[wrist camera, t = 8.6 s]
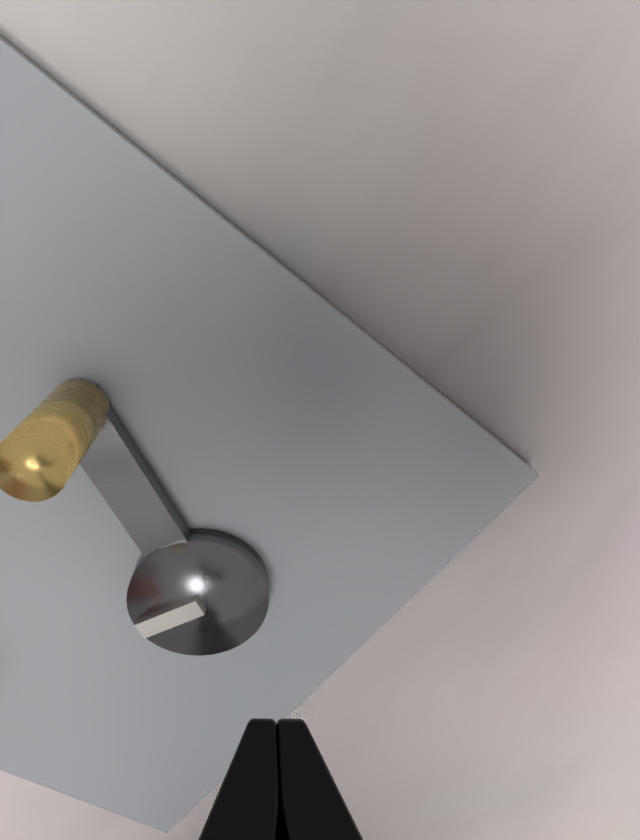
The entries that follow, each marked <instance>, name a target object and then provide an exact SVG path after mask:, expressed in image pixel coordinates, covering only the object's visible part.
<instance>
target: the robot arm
mask: <svg viewBox="0 0 640 840" xmlns="http://www.w3.org/2000/svg"><path fill="white" fill-rule="evenodd" d="M199 840H363V838H362V836H361V834H360V832H359V830H358V828H357V826H356V824H355V822H354V820H353V818H352V816H351V814H350V812H349V810H348V808H347V806H346V804H345V802H344V800H343V798H342V796H341V794H340V792H339V790H338V788H337V786H336V784H335V782H334V780H333V777H332V775H331V773H330V771H329V769H328V767H327V765H326V763H325V761H324V759H323V757H322V755H321V753H320V751H319V749H318V747H317V745H316V743H315V741H314V739H313V737H312V735H311V733H310V731H309V729H308V727H307V725H306V723H305V722H304V721H303V720H302V719H279V720H278V721H277V723H276V721H275V720H274V719H269V718H253V719H251V720H249V722H248V723H247V726H246V728H245V730H244V733H243V735H242V737H241V740H240V742H239V745H238V747H237V749H236V752H235V754H234V757H233V759H232V761H231V764H230V766H229V768H228V771H227V773H226V776H225V778H224V780H223V783H222V785H221V788H220V790H219V792H218V795H217V797H216V799H215V802H214V804H213V807H212V809H211V811H210V814H209V816H208V819H207V821H206V823H205V826H204V828H203V830H202V833H201V835H200V838H199Z"/></svg>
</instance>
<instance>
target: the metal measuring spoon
mask: <svg viewBox="0 0 640 840" xmlns="http://www.w3.org/2000/svg"><path fill="white" fill-rule="evenodd" d="M79 463H80V465H81V466H82V468H83V469H84V471H85V472H86V473H87V475H88V476H89V478H90V479H91V481H92V482H93V484H94V485H95V486H96V488H97V489H98V491H99V492H100V494H101V495H102V497H103V498H104V499H105V501H106V502H107V504H108V505H109V507H110V508H111V510H112V511H113V512H114V514H115V515H116V517H117V518H118V520H119V521H120V523H121V524H122V525H123V527H124V528H125V530H126V531H127V533H128V534H129V535H130V537H131V538H132V540H133V541H134V543H135V544H136V546H137V547H138V548H139V550H140V551H141V553H142V555H141V556H140V558H139V559H138V561H137V564H136V566H135V568H134V571H133V574H132V577H131V580H130V583H129V586H128V590H127V597H126V603H127V610H128V613H129V616H130V618H131V621H132V622H133V624H134V626H135V627H136V628H137V630H138V631H139V632H140V634H141V635H142V636H143V638H144V639H145V638H147V639H148V640H149V641H151V642H152V643H154V644H155V645H157V646H159V647H161V648H163V649H166V650H168V651H171V652H175V653H179V654H184V655H194V656H202V655H213V654H217V653H222V652H225V651H228V650H231V649H233V648H235V647H237V646H239V645H241V644H242V643H244V642H246V641H247V640H248V639H249V638H251V637H252V636H253V635H254V634H255V633H256V632H257V630H258V629H259V628H260V627H261V625H262V623H263V621H264V620H265V617H266V614H267V611H268V604H269V579H268V573H267V569H266V566H265V564H264V562H263V560H262V559H261V557H260V556H259V554H258V553H257V552H256V551H255V550H254V549H253V548H252V547H251V546H250V545H249V544H247V543H246V542H245V541H243V540H242V539H240V538H238V537H236V536H234V535H232V534H229V533H226V532H223V531H219V530H215V529H206V528H193V529H189V528H188V526H187V524H186V523H185V521H184V520H183V518H182V516H181V515H180V513H179V512H178V510H177V509H176V507H175V505H174V504H173V502H172V501H171V499H170V498H169V496H168V494H167V493H166V491H165V490H164V488H163V486H162V485H161V483H160V482H159V480H158V479H157V477H156V475H155V474H154V472H153V471H152V469H151V467H150V466H149V464H148V463H147V461H146V460H145V458H144V456H143V455H142V453H141V452H140V450H139V449H138V447H137V445H136V444H135V442H134V441H133V439H132V437H131V436H130V434H129V433H128V431H127V430H126V428H125V426H124V425H123V423H122V422H121V420H120V418H119V417H118V415H117V414H116V412H115V411H114V409H113V407H112V406H111V404H110V403H109V401H108V399H107V397H106V396H105V394H104V393H103V392H102V390H101V388H100V387H99V385H98V384H97V385H93V384H91V383H89V382H86V381H82V380H70V381H66V382H64V383H62V384H60V385H59V386H57V387H56V388H55V389H54V390H53V391H52V392H51V393H50V394H49V395H48V396H47V397H46V398H45V399H44V400H43V401H42V402H41V403H40V404H39V405H38V406H37V407H36V408H35V409H34V410H33V411H32V412H31V413H30V414H29V415H28V416H27V417H26V418H25V419H24V420H23V421H22V422H21V423H20V424H19V425H18V426H17V427H16V428H15V429H14V430H13V431H12V432H11V433H10V434H9V435H8V436H7V437H6V438H5V439H4V440H3V441H2V442H1V443H0V488H1V489H2V490H3V491H4V492H5V493H7V494H8V495H10V496H12V497H14V498H16V499H19V500H23V501H29V502H39V501H45V500H48V499H50V498H52V497H54V496H56V495H57V494H58V493H59V492H60V491H61V490H62V489H63V487H64V486H65V484H66V483H67V481H68V480H69V478H70V477H71V475H72V474H73V472H74V471H75V469H76V468H77V466H78V465H79Z"/></svg>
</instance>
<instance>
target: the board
mask: <svg viewBox="0 0 640 840" xmlns="http://www.w3.org/2000/svg"><path fill="white" fill-rule="evenodd" d="M70 380H82V381H86V382H89V383H91V384H93V385H97V384H98V385H99V387H100V388H101V390H102V392H103V393H104V394H105V396H106V397H107V399H108V401H109V403H110V404H111V406H112V407H113V409H114V411H115V412H116V414H117V415H118V417H119V418H120V420H121V422H122V423H123V425H124V426H125V428H126V430H127V431H128V433H129V434H130V436H131V437H132V439H133V441H134V442H135V444H136V445H137V447H138V449H139V450H140V452H141V453H142V455H143V456H144V458H145V460H146V461H147V463H148V464H149V466H150V467H151V469H152V471H153V472H154V474H155V475H156V477H157V479H158V480H159V482H160V483H161V485H162V486H163V488H164V490H165V491H166V493H167V494H168V496H169V498H170V499H171V501H172V502H173V504H174V505H175V507H176V509H177V510H178V512H179V513H180V515H181V516H182V518H183V520H184V521H185V523H186V524H187V526H188V528H189V529H193V528H206V529H215V530H219V531H223V532H226V533H229V534H232V535H234V536H236V537H238V538H240V539H242V540H243V541H245V542H246V543H247V544H249V545H250V546H251V547H252V548H253V549H254V550H255V551H256V552H257V553H258V554H259V556H260V557H261V559H262V560H263V562H264V564H265V566H266V569H267V573H268V579H269V604H268V611H267V614H266V617H265V620H264V621H263V623H262V625H261V627H260V628H259V629H258V630H257V632H256V633H255V634H254V635H253V636H252V637H251V638H249V639H248V640H247V641H246V642H244V643H242V644H241V645H239V646H237V647H235V648H233V649H231V650H228V651H225V652H222V653H217V654H213V655H202V656H194V655H184V654H179V653H175V652H171V651H168V650H166V649H163V648H161V647H159V646H157V645H155V644H154V643H152V642H151V641H149V640H148V639H147V638H145V639H144V638H143V636H142V635H141V634H140V632H139V631H138V630H137V628H136V627H135V626H134V624H133V622H132V621H131V618H130V616H129V613H128V610H127V603H126V597H127V590H128V586H129V583H130V580H131V577H132V574H133V571H134V568H135V566H136V564H137V561H138V559H139V558H140V556H141V555H142V553H141V551H140V550H139V548H138V547H137V546H136V544H135V543H134V541H133V540H132V538H131V537H130V535H129V534H128V533H127V531H126V530H125V528H124V527H123V525H122V524H121V523H120V521H119V520H118V518H117V517H116V515H115V514H114V512H113V511H112V510H111V508H110V507H109V505H108V504H107V502H106V501H105V499H104V498H103V497H102V495H101V494H100V492H99V491H98V489H97V488H96V486H95V485H94V484H93V482H92V481H91V479H90V478H89V476H88V475H87V473H86V472H85V471H84V469H83V468H82V466H81V465H80V463H79V465H78V466H77V468H76V469H75V471H74V472H73V474H72V475H71V477H70V478H69V480H68V481H67V483H66V484H65V486H64V487H63V489H62V490H61V491H60V492H59V493H58V494H57V495H56V496H54V497H52V498H50V499H48V500H45V501H39V502H29V501H23V500H19V499H16V498H14V497H12V496H10V495H8V494H7V493H5V492H4V491H3V490H2V489H1V488H0V770H2V771H5V772H8V773H10V774H13V775H16V776H18V777H21V778H23V779H26V780H29V781H31V782H34V783H37V784H39V785H42V786H45V787H47V788H50V789H53V790H55V791H58V792H61V793H63V794H66V795H69V796H71V797H74V798H76V799H79V800H82V801H84V802H87V803H90V804H92V805H95V806H98V807H100V808H103V809H106V810H108V811H111V812H114V813H116V814H119V815H121V816H124V817H127V818H129V819H132V820H135V821H137V822H140V823H143V824H145V825H148V826H151V827H153V828H156V829H159V830H161V831H164V832H166V833H167V832H168V831H169V830H170V829H171V828H172V827H173V826H174V825H175V824H176V823H177V822H179V821H180V820H181V819H182V818H183V817H184V816H185V815H186V814H187V813H188V812H189V811H190V810H191V809H192V808H193V807H194V806H195V805H196V804H197V803H198V802H199V801H200V800H201V799H202V798H203V797H204V796H206V795H207V794H208V793H209V792H210V791H211V790H212V789H213V788H214V787H215V786H216V785H217V784H218V783H219V782H220V781H221V780H222V779H223V778H224V777H225V776H226V773H227V771H228V768H229V766H230V764H231V761H232V759H233V757H234V754H235V752H236V749H237V747H238V745H239V742H240V740H241V737H242V735H243V733H244V730H245V728H246V726H247V723H248V722H249V720H251V719H253V718H269V719H274V720H275V721H276V723H277V721H278V720H279V719H286V718H287V717H288V716H289V715H290V714H291V713H292V712H293V711H294V710H295V709H296V708H297V707H298V706H299V705H300V704H301V703H302V702H303V701H304V700H305V699H306V698H307V697H308V696H309V695H310V694H312V693H313V692H314V691H315V690H316V689H317V688H318V687H319V686H320V685H321V684H322V683H323V682H324V681H325V680H326V679H327V678H328V677H329V676H330V675H331V674H332V673H333V672H334V671H335V670H336V669H337V668H339V667H340V666H341V665H342V664H343V663H344V662H345V661H346V660H347V659H348V658H349V657H350V656H351V655H352V654H353V653H354V652H355V651H356V650H357V649H358V648H359V647H360V646H361V645H362V644H363V643H365V642H366V641H367V640H368V639H369V638H370V637H371V636H372V635H373V634H374V633H375V632H376V631H377V630H378V629H379V628H380V627H381V626H382V625H383V624H384V623H385V622H386V621H387V620H388V619H389V618H390V617H392V616H393V615H394V614H395V613H396V612H397V611H398V610H399V609H400V608H401V607H402V606H403V605H404V604H405V603H406V602H407V601H408V600H409V599H410V598H411V597H412V596H413V595H414V594H415V593H416V592H418V591H419V590H420V589H421V588H422V587H423V586H424V585H425V584H426V583H427V582H428V581H429V580H430V579H431V578H432V577H433V576H434V575H435V574H436V573H437V572H438V571H439V570H440V569H441V568H442V567H443V566H445V565H446V564H447V563H448V562H449V561H450V560H451V559H452V558H453V557H454V556H455V555H456V554H457V553H458V552H459V551H460V550H461V549H462V548H463V547H464V546H465V545H466V544H467V543H468V542H469V541H470V540H472V539H473V538H474V537H475V536H476V535H477V534H478V533H479V532H480V531H481V530H482V529H483V528H484V527H485V526H486V525H487V524H488V523H489V522H490V521H491V520H492V519H493V518H494V517H495V516H496V515H498V514H499V513H500V512H501V511H502V510H503V509H504V508H505V507H506V506H507V505H508V504H509V503H510V502H511V501H512V500H513V499H514V498H515V497H516V496H517V495H518V494H519V493H520V492H521V491H522V490H523V489H525V488H526V487H527V486H528V485H529V484H530V483H531V482H532V481H533V480H534V479H535V478H536V477H537V476H538V474H537V473H536V472H535V471H534V470H533V468H532V467H531V466H530V465H529V464H528V463H526V462H525V461H524V460H523V459H521V458H520V457H519V456H518V455H516V454H515V453H514V452H513V451H512V450H510V449H509V448H508V447H507V446H505V445H504V444H503V443H502V442H500V441H499V440H498V439H497V438H496V437H494V436H493V435H492V434H491V433H489V432H488V431H487V430H486V429H484V428H483V427H482V426H481V425H480V424H478V423H477V422H476V421H475V420H473V419H472V418H471V417H470V416H468V415H467V414H466V413H465V412H464V411H462V410H461V409H460V408H459V407H457V406H456V405H455V404H454V403H452V402H451V401H450V400H449V399H448V398H446V397H445V396H444V395H443V394H441V393H440V392H439V391H438V390H436V389H435V388H434V387H433V386H431V385H430V384H429V383H428V382H427V381H425V380H424V379H423V378H422V377H420V376H419V375H418V374H417V373H415V372H414V371H413V370H412V369H411V368H409V367H408V366H407V365H406V364H404V363H403V362H402V361H401V360H399V359H398V358H397V357H396V356H395V355H393V354H392V353H391V352H390V351H388V350H387V349H386V348H385V347H383V346H382V345H381V344H380V343H379V342H377V341H376V340H375V339H374V338H372V337H371V336H370V335H369V334H367V333H366V332H365V331H364V330H363V329H361V328H360V327H359V326H358V325H356V324H355V323H354V322H353V321H351V320H350V319H349V318H348V317H346V316H345V315H344V314H343V313H342V312H340V311H339V310H338V309H337V308H335V307H334V306H333V305H332V304H330V303H329V302H328V301H327V300H326V299H324V298H323V297H322V296H321V295H319V294H318V293H317V292H316V291H314V290H313V289H312V288H311V287H310V286H308V285H307V284H306V283H305V282H303V281H302V280H301V279H300V278H298V277H297V276H296V275H295V274H294V273H292V272H291V271H290V270H289V269H287V268H286V267H285V266H284V265H282V264H281V263H280V262H279V261H278V260H276V259H275V258H274V257H273V256H271V255H270V254H269V253H268V252H266V251H265V250H264V249H263V248H262V247H260V246H259V245H258V244H257V243H255V242H254V241H253V240H252V239H250V238H249V237H248V236H247V235H245V234H244V233H243V232H242V231H241V230H239V229H238V228H237V227H236V226H234V225H233V224H232V223H231V222H229V221H228V220H227V219H226V218H225V217H223V216H222V215H221V214H220V213H218V212H217V211H216V210H215V209H213V208H212V207H211V206H210V205H209V204H207V203H206V202H205V201H204V200H202V199H201V198H200V197H199V196H197V195H196V194H195V193H194V192H193V191H191V190H190V189H189V188H188V187H186V186H185V185H184V184H183V183H181V182H180V181H179V180H178V179H177V178H175V177H174V176H173V175H172V174H170V173H169V172H168V171H167V170H165V169H164V168H163V167H162V166H160V165H159V164H158V163H157V162H156V161H154V160H153V159H152V158H151V157H149V156H148V155H147V154H146V153H144V152H143V151H142V150H141V149H140V148H138V147H137V146H136V145H135V144H133V143H132V142H131V141H130V140H128V139H127V138H126V137H125V136H124V135H122V134H121V133H120V132H119V131H117V130H116V129H115V128H114V127H112V126H111V125H110V124H109V123H108V122H106V121H105V120H104V119H103V118H101V117H100V116H99V115H98V114H96V113H95V112H94V111H93V110H92V109H90V108H89V107H88V106H87V105H85V104H84V103H83V102H82V101H80V100H79V99H78V98H77V97H76V96H74V95H73V94H72V93H71V92H69V91H68V90H67V89H66V88H64V87H63V86H62V85H61V84H59V83H58V82H57V81H56V80H55V79H53V78H52V77H51V76H50V75H48V74H47V73H46V72H45V71H43V70H42V69H41V68H40V67H39V66H37V65H36V64H35V63H34V62H32V61H31V60H30V59H29V58H27V57H26V56H25V55H24V54H23V53H21V52H20V51H19V50H18V49H16V48H15V47H14V46H13V45H11V44H10V43H9V42H8V41H7V40H5V39H4V38H3V37H2V36H0V443H1V442H2V441H3V440H4V439H5V438H6V437H7V436H8V435H9V434H10V433H11V432H12V431H13V430H14V429H15V428H16V427H17V426H18V425H19V424H20V423H21V422H22V421H23V420H24V419H25V418H26V417H27V416H28V415H29V414H30V413H31V412H32V411H33V410H34V409H35V408H36V407H37V406H38V405H39V404H40V403H41V402H42V401H43V400H44V399H45V398H46V397H47V396H48V395H49V394H50V393H51V392H52V391H53V390H54V389H55V388H56V387H57V386H59V385H60V384H62V383H64V382H66V381H70Z"/></svg>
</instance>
